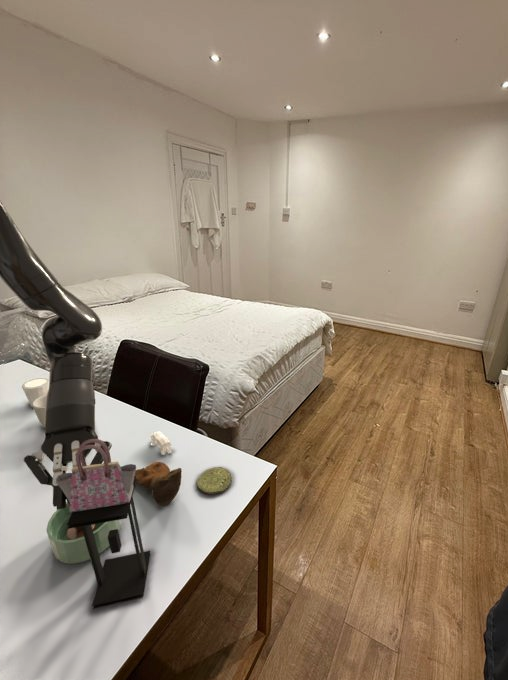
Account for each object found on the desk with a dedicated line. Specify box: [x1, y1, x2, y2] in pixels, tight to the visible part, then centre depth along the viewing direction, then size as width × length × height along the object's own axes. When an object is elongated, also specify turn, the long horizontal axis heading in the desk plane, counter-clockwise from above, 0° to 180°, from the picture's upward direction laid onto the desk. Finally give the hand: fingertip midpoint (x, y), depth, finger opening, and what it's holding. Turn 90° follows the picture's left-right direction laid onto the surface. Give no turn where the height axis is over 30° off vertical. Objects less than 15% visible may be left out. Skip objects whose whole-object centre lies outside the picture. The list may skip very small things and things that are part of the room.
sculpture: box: [135, 461, 183, 506], centre depth 72 cm, size 8×10×15 cm
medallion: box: [196, 466, 233, 495], centre depth 76 cm, size 8×8×1 cm
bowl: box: [46, 501, 122, 565], centre depth 62 cm, size 11×11×6 cm
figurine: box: [149, 430, 173, 456], centre depth 85 cm, size 2×8×5 cm, turn 50°
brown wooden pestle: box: [65, 495, 97, 540], centre depth 58 cm, size 4×4×15 cm
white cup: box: [21, 377, 49, 407], centre depth 101 cm, size 7×7×7 cm
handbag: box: [55, 438, 151, 610], centre depth 50 cm, size 10×8×30 cm
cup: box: [31, 394, 47, 429], centre depth 93 cm, size 11×8×8 cm
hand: (69, 506), depth 55 cm, fingers closed on brown wooden pestle
